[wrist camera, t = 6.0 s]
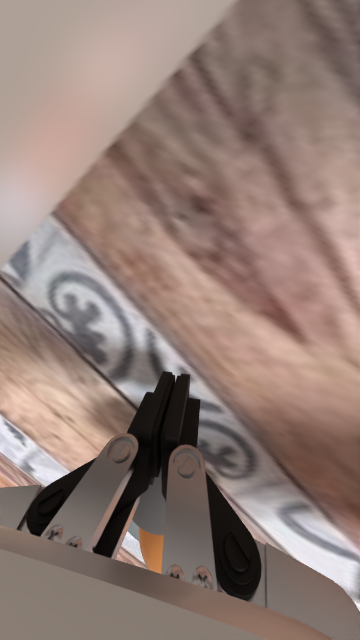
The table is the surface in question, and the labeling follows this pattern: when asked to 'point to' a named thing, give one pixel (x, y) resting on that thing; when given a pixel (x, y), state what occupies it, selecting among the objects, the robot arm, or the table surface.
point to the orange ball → (151, 550)
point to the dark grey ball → (152, 508)
